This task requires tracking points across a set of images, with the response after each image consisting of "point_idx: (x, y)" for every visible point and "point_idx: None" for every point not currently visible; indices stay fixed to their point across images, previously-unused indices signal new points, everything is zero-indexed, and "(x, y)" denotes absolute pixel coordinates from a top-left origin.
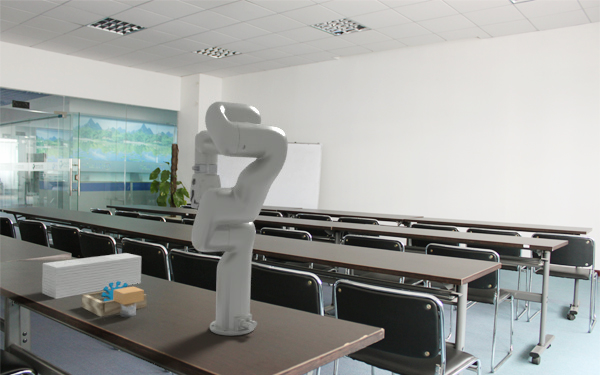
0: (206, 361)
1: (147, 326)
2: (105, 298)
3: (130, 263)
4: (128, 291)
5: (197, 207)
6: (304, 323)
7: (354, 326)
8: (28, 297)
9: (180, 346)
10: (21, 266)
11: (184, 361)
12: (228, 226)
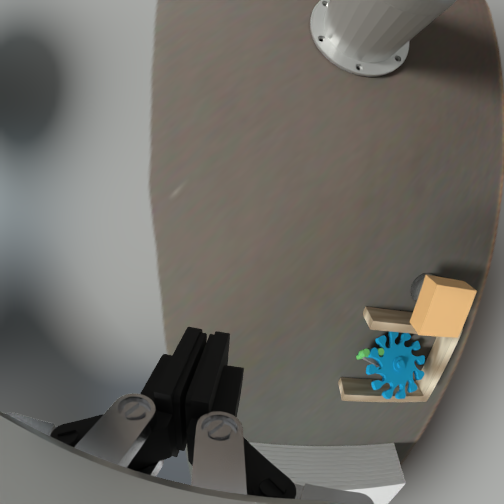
0: (476, 8)
1: (455, 194)
2: (421, 363)
3: None
4: (459, 300)
5: (307, 493)
6: None
7: None
8: (402, 461)
9: (476, 69)
10: None
11: (495, 35)
12: None
